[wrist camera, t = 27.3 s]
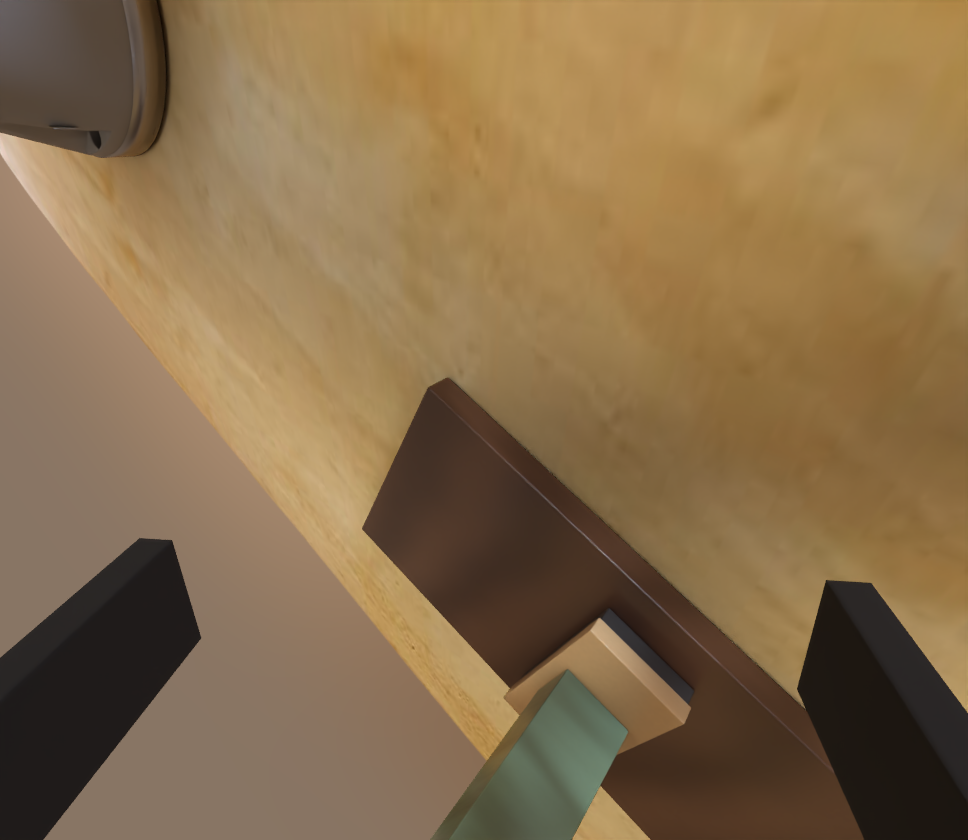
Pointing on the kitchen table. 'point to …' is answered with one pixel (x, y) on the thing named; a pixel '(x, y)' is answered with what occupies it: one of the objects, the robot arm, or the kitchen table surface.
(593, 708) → the green block on base
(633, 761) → the walnut board
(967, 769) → the robot arm
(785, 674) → the kitchen table surface
